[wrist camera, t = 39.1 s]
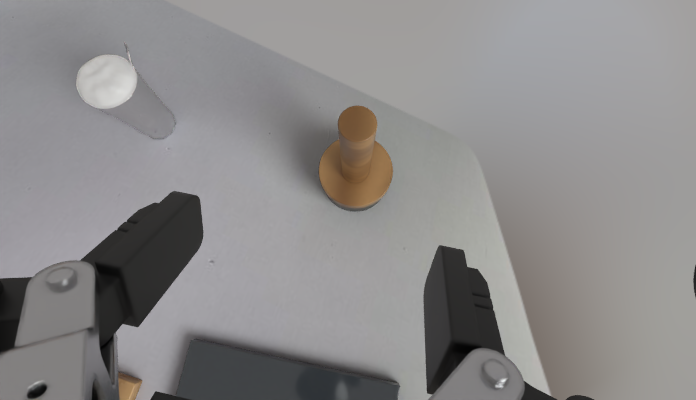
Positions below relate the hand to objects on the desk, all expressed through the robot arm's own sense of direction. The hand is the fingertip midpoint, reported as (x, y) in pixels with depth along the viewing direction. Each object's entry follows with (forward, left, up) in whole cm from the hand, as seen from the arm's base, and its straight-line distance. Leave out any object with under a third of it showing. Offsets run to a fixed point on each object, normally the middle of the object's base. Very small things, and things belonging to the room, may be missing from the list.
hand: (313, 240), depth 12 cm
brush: (0, -8, -21) cm, 23 cm away
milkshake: (+20, -10, -22) cm, 31 cm away
